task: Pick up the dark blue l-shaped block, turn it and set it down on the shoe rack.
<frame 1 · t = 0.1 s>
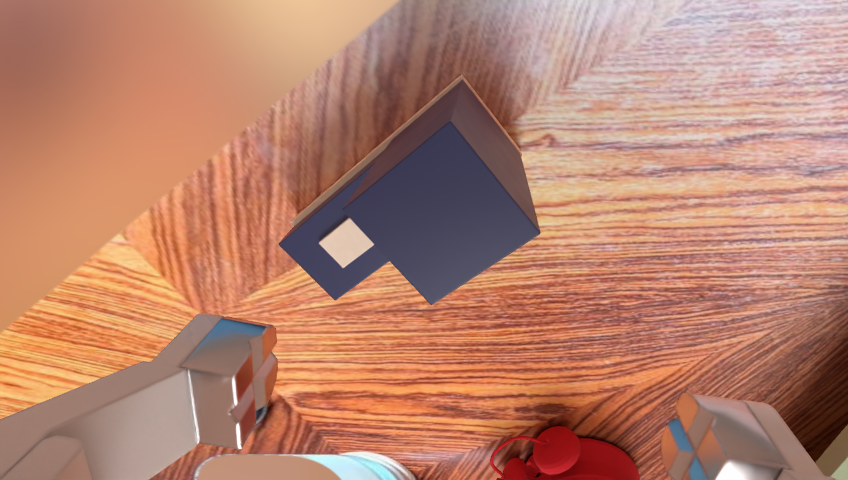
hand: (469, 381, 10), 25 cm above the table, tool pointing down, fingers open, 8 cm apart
alarm clock: (564, 465, 45), on the table
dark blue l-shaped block: (456, 141, 33), on the table
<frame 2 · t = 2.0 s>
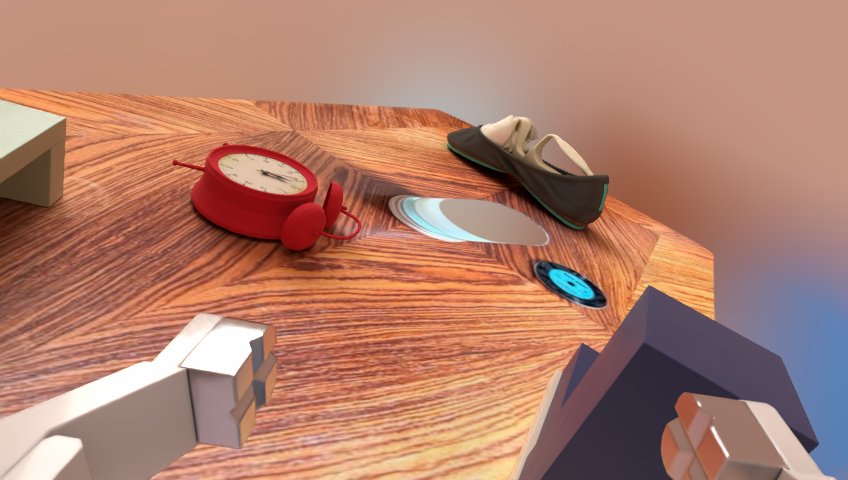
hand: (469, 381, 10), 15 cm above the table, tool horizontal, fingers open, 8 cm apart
ballet flat: (510, 185, 80), on the table
alarm clock: (271, 219, 43), on the table
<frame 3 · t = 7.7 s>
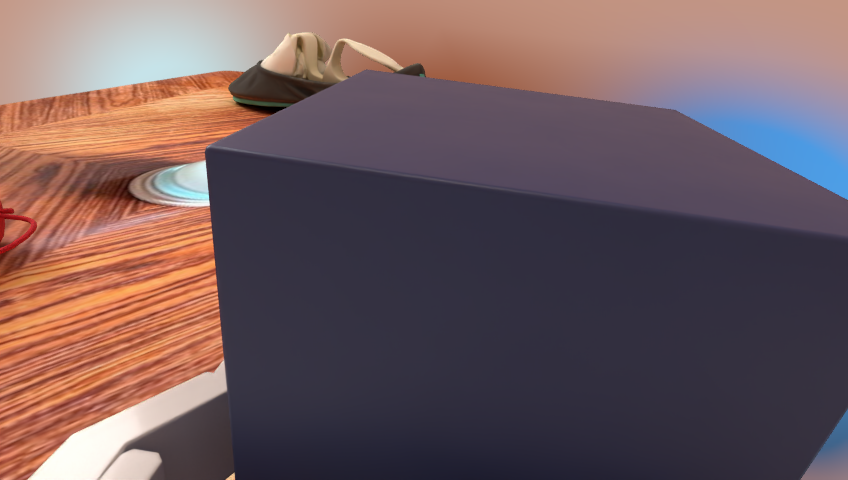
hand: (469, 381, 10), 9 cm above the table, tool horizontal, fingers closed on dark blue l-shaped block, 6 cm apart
ballet flat: (324, 119, 66), on the table
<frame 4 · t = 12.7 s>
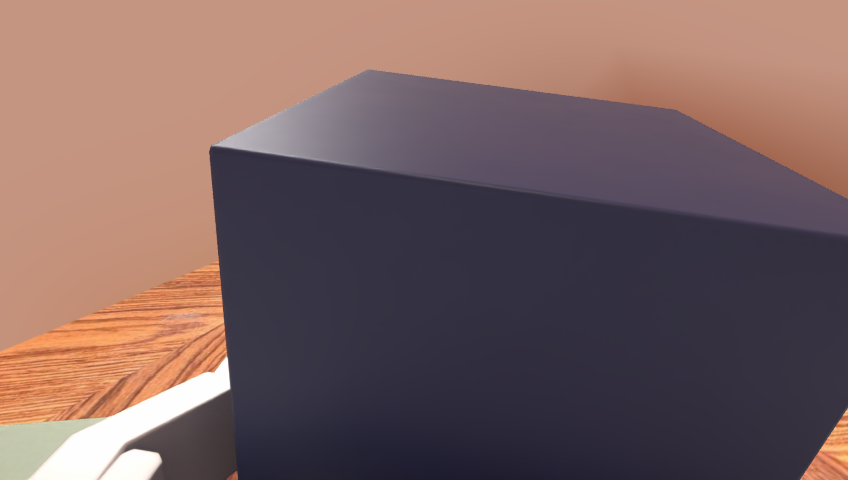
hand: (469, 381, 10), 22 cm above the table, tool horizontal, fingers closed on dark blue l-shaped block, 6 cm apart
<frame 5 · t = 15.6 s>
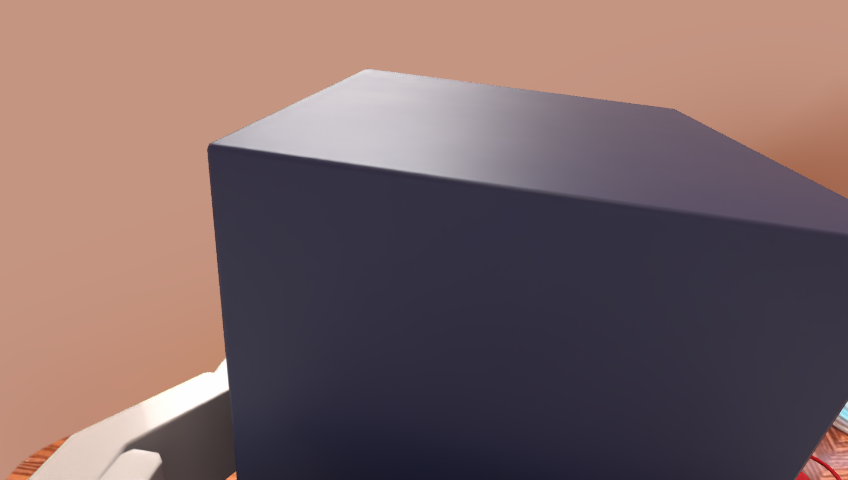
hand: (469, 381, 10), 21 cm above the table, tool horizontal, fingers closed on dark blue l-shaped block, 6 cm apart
when the fingers open (15 cm above the table, at t = 18.0 s): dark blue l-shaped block stays where it is, resting on shoe rack.
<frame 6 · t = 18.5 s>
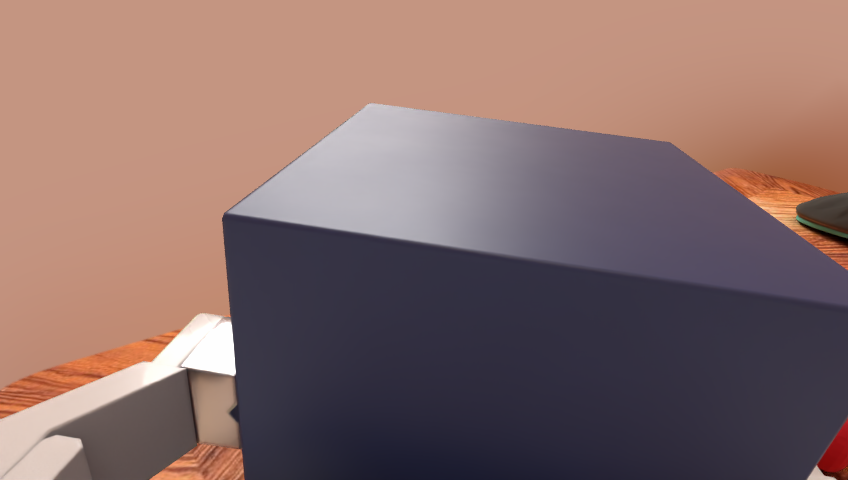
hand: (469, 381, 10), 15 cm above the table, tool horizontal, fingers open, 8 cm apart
alarm clock: (744, 407, 33), on the table
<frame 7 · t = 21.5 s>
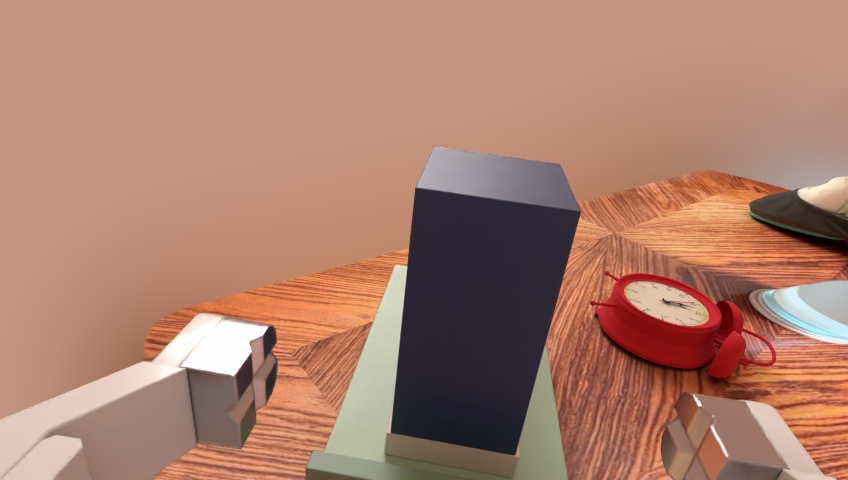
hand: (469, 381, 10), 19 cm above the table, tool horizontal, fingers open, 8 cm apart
alarm clock: (671, 342, 46), on the table
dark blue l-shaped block: (452, 419, 26), point 6 cm above the table, touching shoe rack
shoe rack: (445, 428, 33), on the table
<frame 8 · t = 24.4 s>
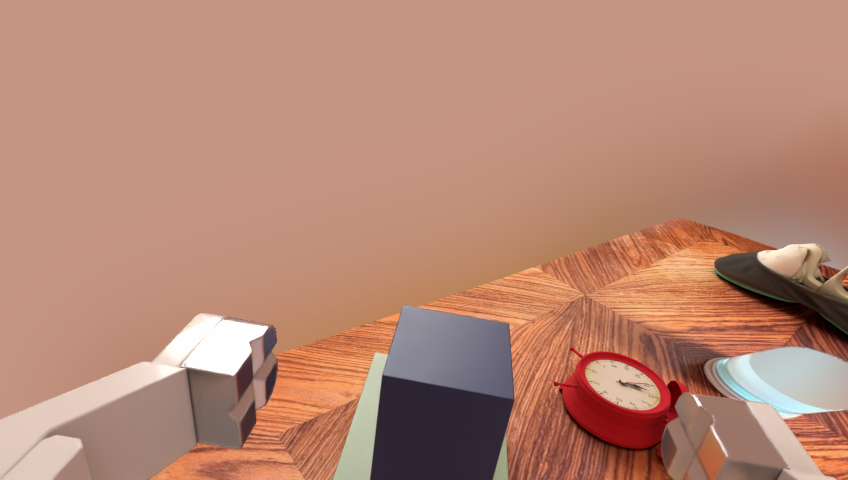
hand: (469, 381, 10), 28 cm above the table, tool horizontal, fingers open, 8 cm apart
ballet flat: (804, 314, 76), on the table
alarm clock: (627, 418, 50), on the table
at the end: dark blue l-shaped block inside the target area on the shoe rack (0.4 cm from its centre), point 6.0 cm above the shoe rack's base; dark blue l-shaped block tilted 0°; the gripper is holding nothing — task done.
